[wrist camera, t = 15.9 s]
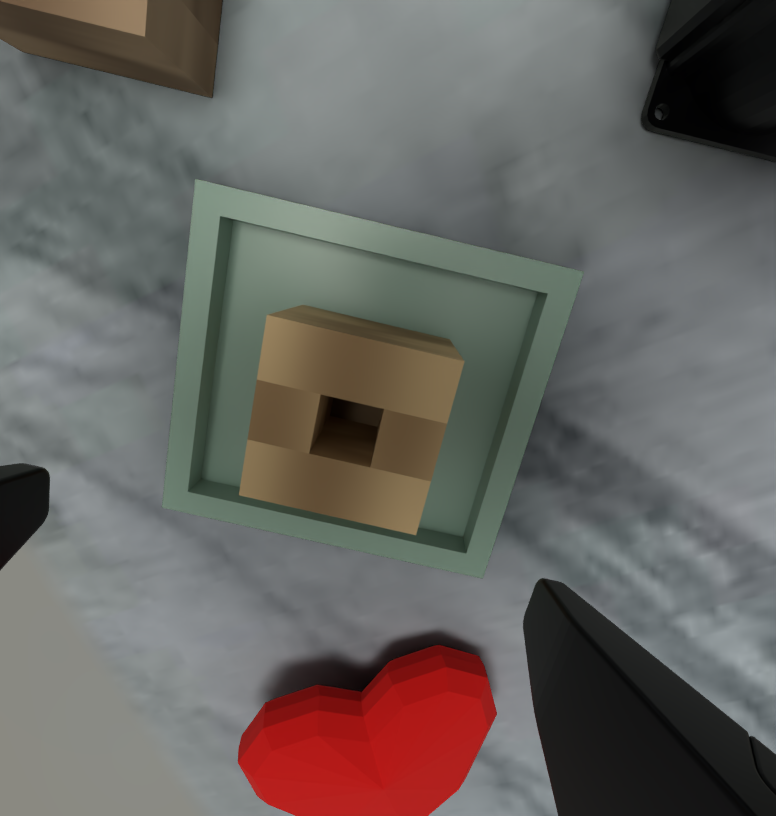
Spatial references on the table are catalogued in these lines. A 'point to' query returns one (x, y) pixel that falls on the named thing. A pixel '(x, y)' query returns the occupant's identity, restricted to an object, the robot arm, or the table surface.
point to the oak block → (348, 417)
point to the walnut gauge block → (122, 37)
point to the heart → (373, 739)
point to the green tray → (376, 301)
